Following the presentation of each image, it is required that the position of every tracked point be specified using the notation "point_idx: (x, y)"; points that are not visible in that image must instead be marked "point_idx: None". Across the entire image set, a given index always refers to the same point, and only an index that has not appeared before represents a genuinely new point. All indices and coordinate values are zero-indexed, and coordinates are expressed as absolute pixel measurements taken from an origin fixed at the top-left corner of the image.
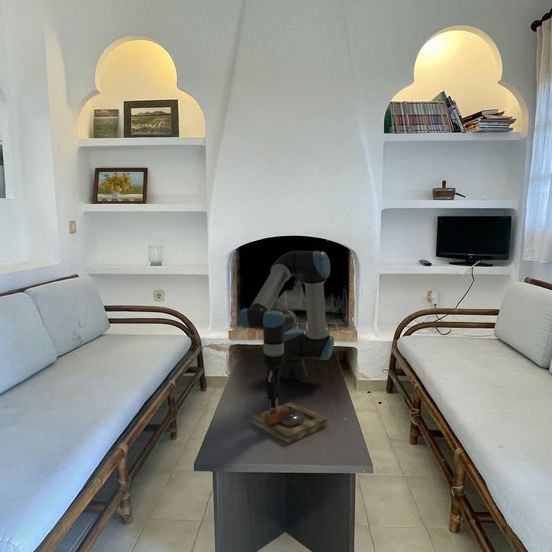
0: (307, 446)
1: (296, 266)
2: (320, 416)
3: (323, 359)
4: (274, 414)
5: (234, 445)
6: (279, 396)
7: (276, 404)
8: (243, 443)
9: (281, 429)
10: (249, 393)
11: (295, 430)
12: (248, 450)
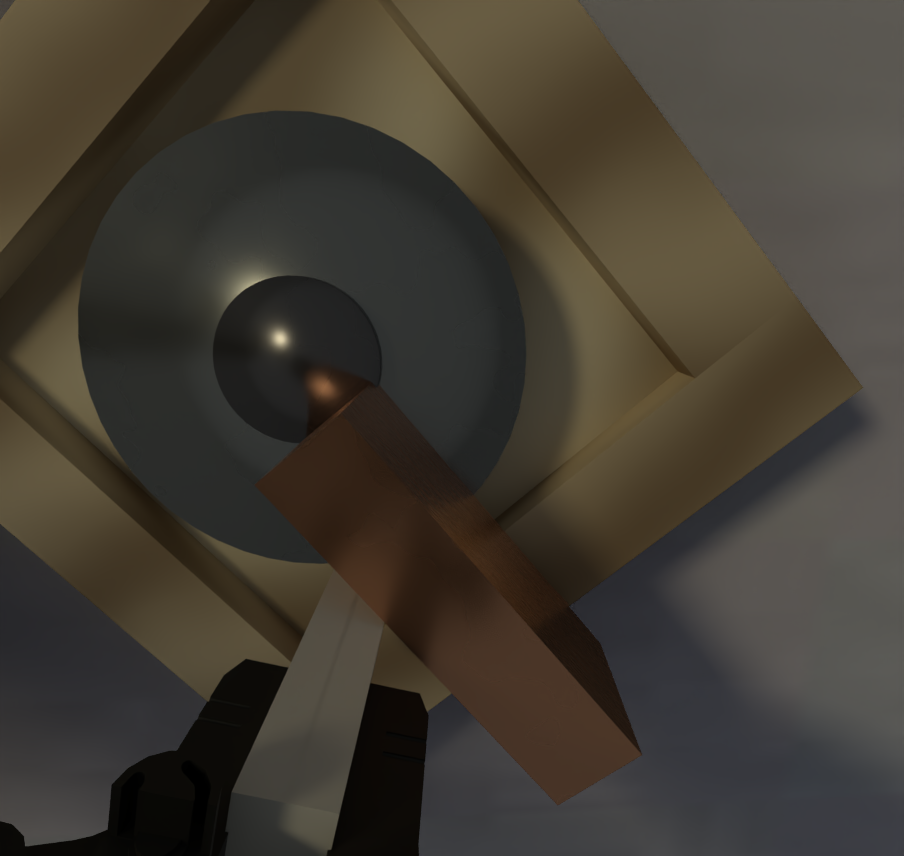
0: (873, 139)
1: None
2: None
3: None
4: (560, 655)
5: (739, 839)
6: (186, 764)
7: (364, 700)
8: (713, 778)
9: (666, 477)
10: None
11: (712, 285)
12: (844, 735)
